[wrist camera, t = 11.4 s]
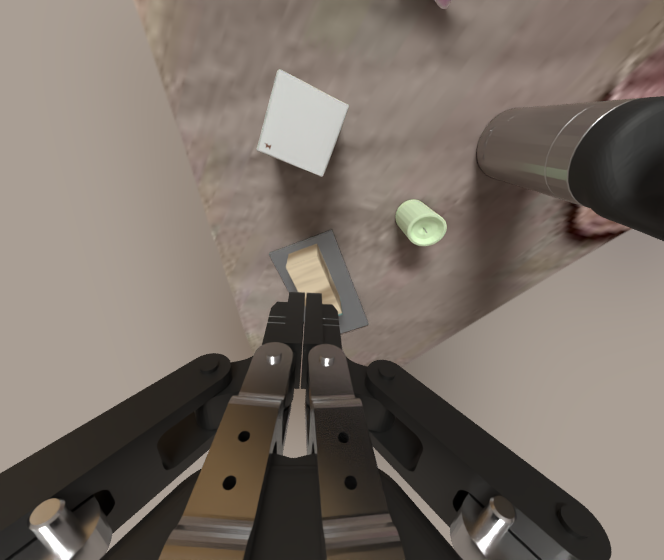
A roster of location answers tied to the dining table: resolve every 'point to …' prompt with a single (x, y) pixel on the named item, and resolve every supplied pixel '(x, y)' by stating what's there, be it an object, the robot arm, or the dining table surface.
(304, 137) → the supplement box
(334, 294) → the block
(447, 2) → the lily
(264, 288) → the dining table surface
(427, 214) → the candle
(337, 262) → the mat
